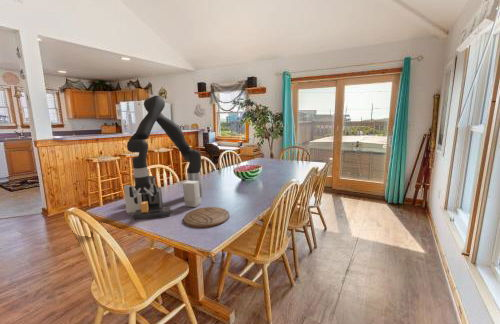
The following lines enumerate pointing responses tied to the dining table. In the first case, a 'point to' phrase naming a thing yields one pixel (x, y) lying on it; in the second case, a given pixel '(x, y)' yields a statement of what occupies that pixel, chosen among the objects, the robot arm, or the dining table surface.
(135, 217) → the console
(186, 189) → the skincare box
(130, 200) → the sliding door
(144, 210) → the fader
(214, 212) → the trivet
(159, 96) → the robot arm
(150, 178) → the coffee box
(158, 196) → the dark grey stand
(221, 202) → the dining table surface
